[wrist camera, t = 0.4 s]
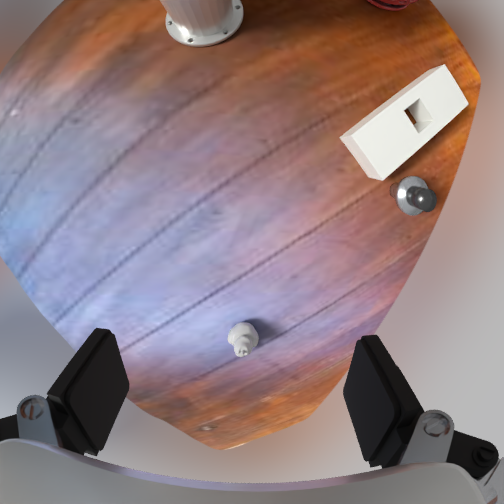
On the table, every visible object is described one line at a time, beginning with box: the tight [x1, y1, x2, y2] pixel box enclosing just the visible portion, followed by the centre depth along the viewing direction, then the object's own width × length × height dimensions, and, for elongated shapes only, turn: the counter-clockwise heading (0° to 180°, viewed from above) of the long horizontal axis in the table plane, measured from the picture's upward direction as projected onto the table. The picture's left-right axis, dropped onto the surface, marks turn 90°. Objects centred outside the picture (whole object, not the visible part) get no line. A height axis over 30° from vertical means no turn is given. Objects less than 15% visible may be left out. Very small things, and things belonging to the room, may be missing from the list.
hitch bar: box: [339, 64, 468, 180], centre depth 36 cm, size 8×24×5 cm, turn 131°
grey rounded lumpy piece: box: [228, 322, 259, 357], centre depth 48 cm, size 5×7×8 cm
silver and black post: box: [390, 176, 437, 215], centre depth 38 cm, size 6×6×10 cm
